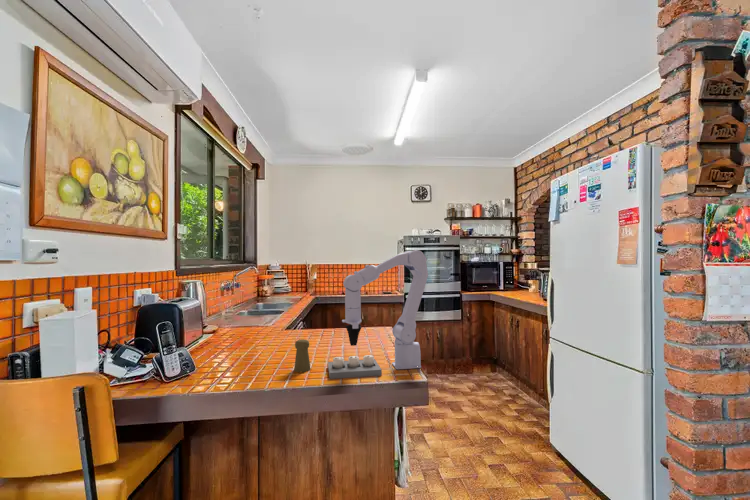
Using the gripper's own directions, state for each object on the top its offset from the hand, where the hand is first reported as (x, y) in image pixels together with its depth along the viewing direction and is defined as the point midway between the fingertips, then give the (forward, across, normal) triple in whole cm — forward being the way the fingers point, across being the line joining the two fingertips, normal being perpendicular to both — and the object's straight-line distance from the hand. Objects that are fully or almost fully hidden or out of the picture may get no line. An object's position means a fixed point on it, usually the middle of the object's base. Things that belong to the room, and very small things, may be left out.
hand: (353, 345), depth 134 cm
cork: (+10, -6, -18) cm, 22 cm away
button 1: (+7, 0, +6) cm, 9 cm away
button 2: (+7, 0, 0) cm, 7 cm away
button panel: (+9, 0, 0) cm, 9 cm away
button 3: (+7, 0, -6) cm, 9 cm away
